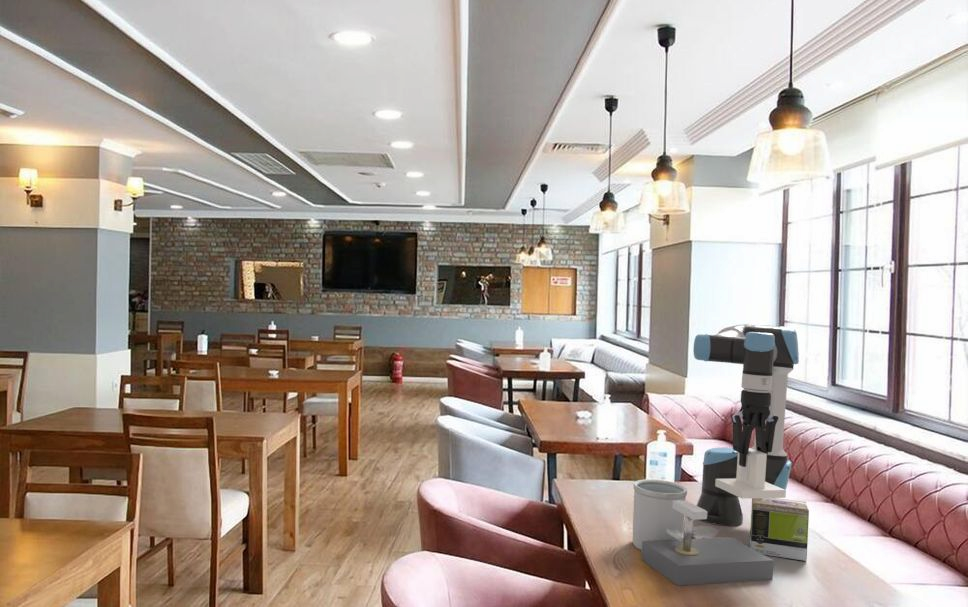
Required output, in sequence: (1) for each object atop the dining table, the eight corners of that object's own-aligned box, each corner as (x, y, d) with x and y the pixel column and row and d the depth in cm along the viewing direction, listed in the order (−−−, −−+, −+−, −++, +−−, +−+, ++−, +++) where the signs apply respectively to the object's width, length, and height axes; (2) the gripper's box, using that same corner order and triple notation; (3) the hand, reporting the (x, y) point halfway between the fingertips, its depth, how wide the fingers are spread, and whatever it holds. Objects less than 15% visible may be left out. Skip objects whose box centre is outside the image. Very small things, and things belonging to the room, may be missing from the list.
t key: (663, 538, 200) (666, 496, 200) (676, 538, 202) (679, 496, 201) (690, 556, 187) (693, 511, 187) (704, 556, 189) (707, 511, 189)
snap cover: (756, 485, 203) (759, 445, 203) (785, 497, 191) (788, 455, 191) (715, 486, 199) (717, 445, 199) (742, 498, 188) (745, 455, 188)
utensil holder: (674, 559, 200) (678, 495, 200) (622, 547, 208) (626, 485, 208) (689, 546, 213) (693, 485, 213) (640, 534, 221) (644, 476, 221)
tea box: (803, 551, 215) (807, 501, 214) (806, 562, 205) (810, 509, 205) (748, 542, 219) (752, 493, 219) (749, 553, 210) (752, 501, 210)
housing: (729, 554, 207) (730, 536, 207) (772, 579, 190) (773, 559, 190) (641, 559, 199) (642, 540, 199) (677, 585, 182) (679, 564, 182)
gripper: (738, 391, 189) (732, 482, 190) (791, 393, 194) (785, 482, 194) (721, 387, 197) (715, 475, 197) (773, 389, 201) (767, 474, 201)
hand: (750, 478), depth 195 cm, fingers closed on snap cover, 3 cm apart
